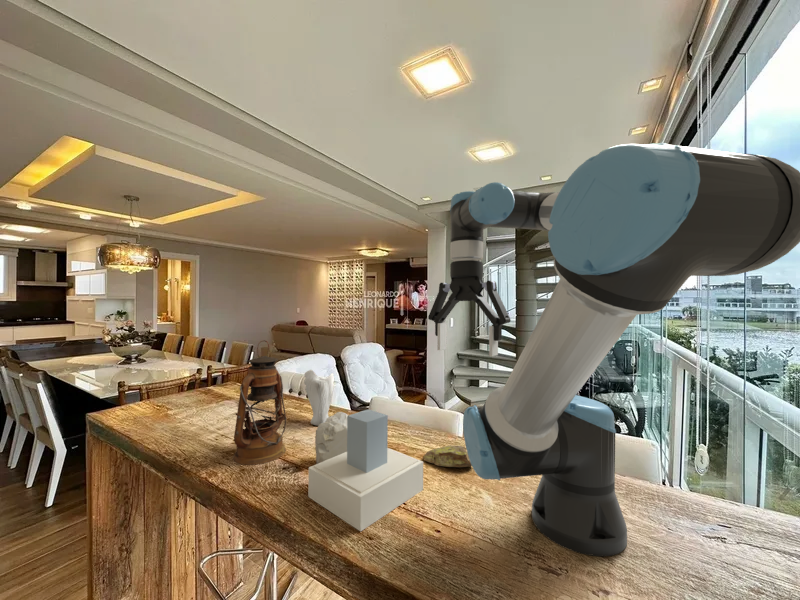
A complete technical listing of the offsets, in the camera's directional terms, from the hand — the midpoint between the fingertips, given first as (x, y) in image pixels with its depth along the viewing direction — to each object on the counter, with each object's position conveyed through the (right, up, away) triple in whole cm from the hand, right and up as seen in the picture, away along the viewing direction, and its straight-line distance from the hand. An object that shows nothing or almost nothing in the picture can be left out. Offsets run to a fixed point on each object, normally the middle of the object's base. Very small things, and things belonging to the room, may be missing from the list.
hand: (466, 352), depth 79 cm
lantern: (-53, -29, +11) cm, 61 cm away
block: (-22, -22, -7) cm, 32 cm away
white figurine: (-42, -29, +34) cm, 61 cm away
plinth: (-22, -29, -7) cm, 37 cm away
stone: (-32, -29, +8) cm, 44 cm away
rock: (-2, -29, +8) cm, 30 cm away
